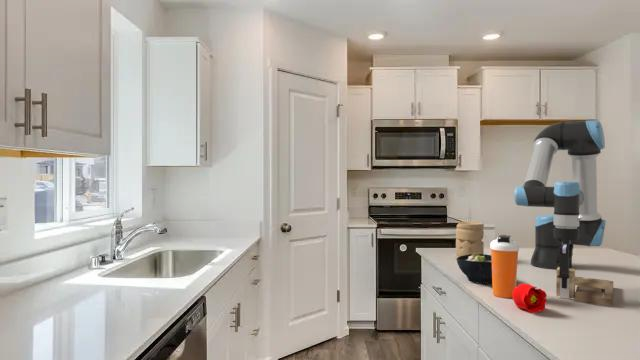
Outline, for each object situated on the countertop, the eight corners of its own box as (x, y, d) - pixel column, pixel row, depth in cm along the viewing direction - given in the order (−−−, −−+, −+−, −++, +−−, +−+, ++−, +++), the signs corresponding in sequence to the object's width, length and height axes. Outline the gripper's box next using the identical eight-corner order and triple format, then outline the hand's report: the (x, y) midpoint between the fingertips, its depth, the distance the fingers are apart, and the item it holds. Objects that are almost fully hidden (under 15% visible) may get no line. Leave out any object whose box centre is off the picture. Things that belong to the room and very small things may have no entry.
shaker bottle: (517, 293, 145) (517, 235, 145) (520, 300, 137) (520, 238, 137) (489, 290, 148) (489, 233, 148) (490, 297, 140) (491, 237, 140)
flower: (532, 287, 133) (551, 293, 125) (523, 310, 132) (542, 318, 124) (512, 278, 131) (530, 283, 124) (503, 301, 130) (521, 308, 123)
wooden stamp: (556, 296, 142) (556, 269, 142) (558, 292, 146) (558, 266, 146) (608, 303, 134) (608, 275, 133) (608, 300, 138) (609, 272, 138)
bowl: (504, 278, 167) (504, 253, 167) (503, 288, 151) (503, 260, 151) (459, 274, 174) (459, 249, 174) (454, 283, 158) (454, 256, 158)
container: (457, 262, 198) (458, 224, 198) (453, 257, 210) (454, 221, 210) (486, 263, 196) (486, 224, 196) (480, 258, 208) (480, 221, 208)
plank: (574, 301, 136) (574, 293, 136) (580, 283, 159) (580, 277, 159) (612, 307, 130) (612, 299, 130) (613, 288, 153) (613, 281, 153)
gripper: (576, 231, 132) (576, 304, 132) (581, 225, 148) (580, 290, 149) (549, 229, 136) (549, 300, 136) (557, 223, 153) (556, 286, 153)
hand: (565, 294), depth 143 cm, fingers open, 7 cm apart
